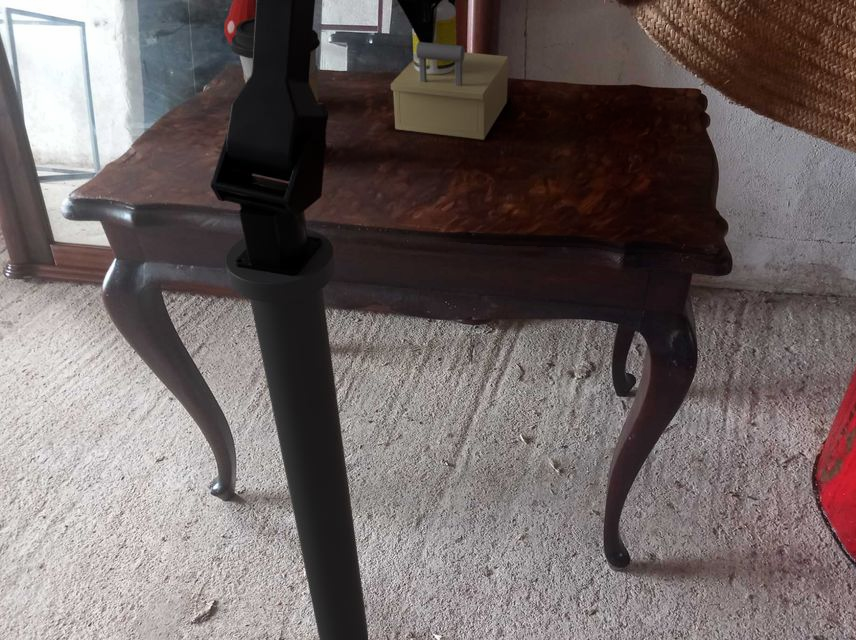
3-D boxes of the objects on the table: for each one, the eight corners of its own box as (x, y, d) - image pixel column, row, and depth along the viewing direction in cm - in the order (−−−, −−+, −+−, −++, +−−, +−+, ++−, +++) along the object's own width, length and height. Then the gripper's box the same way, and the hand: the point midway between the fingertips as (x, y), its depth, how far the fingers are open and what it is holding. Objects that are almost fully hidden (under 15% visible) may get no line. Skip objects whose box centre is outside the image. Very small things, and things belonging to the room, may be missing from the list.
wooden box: (483, 139, 98) (484, 98, 95) (395, 129, 100) (392, 88, 97) (506, 102, 107) (508, 62, 104) (425, 93, 110) (424, 54, 106)
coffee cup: (340, 166, 92) (327, 33, 83) (259, 179, 89) (235, 44, 80) (321, 134, 99) (306, 8, 89) (245, 146, 96) (221, 17, 87)
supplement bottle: (458, 61, 102) (458, -21, 96) (454, 76, 98) (453, -8, 92) (417, 59, 102) (414, -22, 96) (410, 74, 98) (407, -9, 92)
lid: (482, 100, 94) (483, 54, 91) (390, 90, 96) (388, 45, 93) (508, 62, 104) (509, 19, 101) (424, 54, 106) (423, 12, 103)
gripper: (482, -82, 80) (481, 71, 90) (522, -117, 93) (517, 19, 104) (378, -88, 82) (388, 62, 92) (432, -122, 96) (435, 12, 106)
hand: (437, 37), depth 98 cm, fingers open, 8 cm apart
